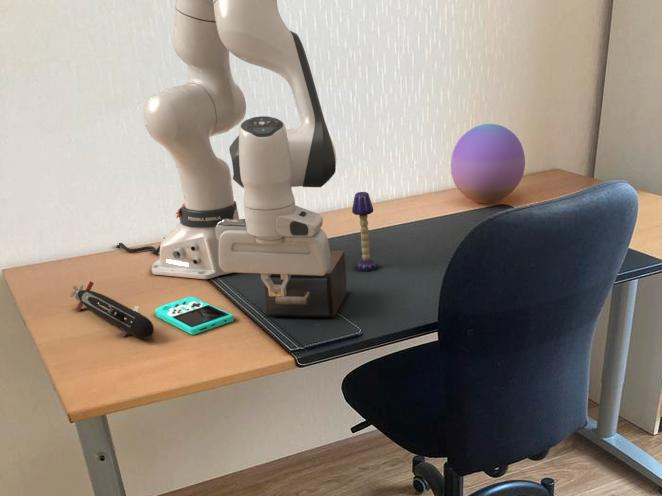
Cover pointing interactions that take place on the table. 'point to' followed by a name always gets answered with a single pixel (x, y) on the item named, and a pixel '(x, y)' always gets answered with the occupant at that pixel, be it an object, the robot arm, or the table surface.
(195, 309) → the handheld game console
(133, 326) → the submarine model
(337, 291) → the cabinet
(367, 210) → the toy lamp
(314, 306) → the drawer
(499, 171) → the ball
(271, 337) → the table surface
